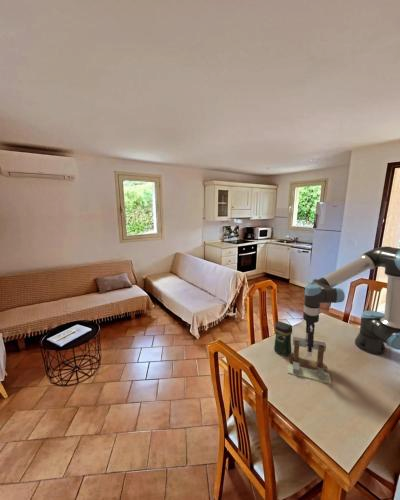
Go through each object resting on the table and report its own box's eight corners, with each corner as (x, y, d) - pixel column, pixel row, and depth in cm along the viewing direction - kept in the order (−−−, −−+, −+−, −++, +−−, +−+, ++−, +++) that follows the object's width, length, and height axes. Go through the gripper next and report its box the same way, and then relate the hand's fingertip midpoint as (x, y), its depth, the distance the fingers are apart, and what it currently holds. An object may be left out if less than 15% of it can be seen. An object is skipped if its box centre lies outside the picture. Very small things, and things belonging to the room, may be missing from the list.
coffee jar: (293, 352, 134) (294, 324, 131) (287, 358, 129) (289, 329, 125) (277, 345, 141) (279, 318, 138) (272, 351, 135) (273, 323, 132)
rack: (324, 364, 123) (326, 343, 120) (326, 371, 118) (328, 349, 115) (290, 357, 130) (291, 336, 127) (290, 363, 124) (291, 341, 122)
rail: (324, 347, 120) (325, 342, 119) (325, 351, 117) (326, 345, 117) (293, 341, 126) (293, 336, 126) (293, 344, 123) (293, 339, 123)
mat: (328, 374, 116) (329, 369, 115) (331, 383, 109) (331, 378, 109) (288, 364, 123) (288, 359, 123) (287, 373, 117) (288, 368, 116)
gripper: (302, 303, 130) (300, 337, 134) (304, 321, 109) (301, 361, 113) (316, 305, 127) (314, 340, 131) (321, 324, 106) (318, 365, 110)
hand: (308, 350), depth 122 cm, fingers open, 10 cm apart
